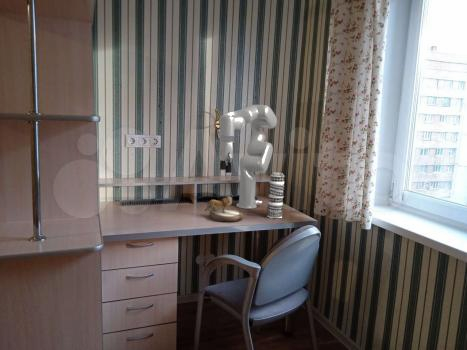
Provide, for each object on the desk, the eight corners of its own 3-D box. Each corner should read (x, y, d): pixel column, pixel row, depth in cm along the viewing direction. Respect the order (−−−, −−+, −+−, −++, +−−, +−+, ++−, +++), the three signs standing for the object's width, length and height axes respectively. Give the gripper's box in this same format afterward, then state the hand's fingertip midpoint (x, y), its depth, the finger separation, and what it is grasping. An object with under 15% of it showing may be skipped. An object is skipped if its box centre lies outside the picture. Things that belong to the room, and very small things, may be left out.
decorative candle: (262, 215, 208) (265, 171, 204) (275, 214, 213) (278, 171, 209) (273, 219, 200) (276, 174, 197) (286, 218, 206) (289, 173, 202)
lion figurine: (231, 211, 202) (232, 195, 201) (231, 214, 197) (232, 197, 195) (204, 210, 202) (205, 194, 200) (204, 212, 196) (204, 196, 195)
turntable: (219, 210, 211) (220, 202, 210) (248, 215, 203) (248, 207, 202) (203, 217, 195) (203, 208, 195) (233, 223, 187) (233, 213, 187)
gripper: (215, 137, 203) (214, 168, 206) (224, 140, 187) (223, 173, 189) (228, 138, 205) (227, 168, 208) (238, 140, 189) (237, 173, 192)
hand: (225, 171), depth 199 cm, fingers open, 9 cm apart
